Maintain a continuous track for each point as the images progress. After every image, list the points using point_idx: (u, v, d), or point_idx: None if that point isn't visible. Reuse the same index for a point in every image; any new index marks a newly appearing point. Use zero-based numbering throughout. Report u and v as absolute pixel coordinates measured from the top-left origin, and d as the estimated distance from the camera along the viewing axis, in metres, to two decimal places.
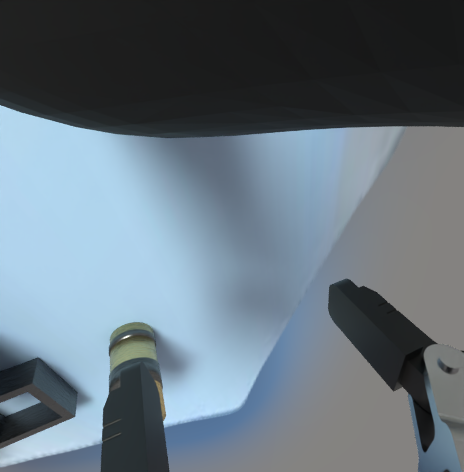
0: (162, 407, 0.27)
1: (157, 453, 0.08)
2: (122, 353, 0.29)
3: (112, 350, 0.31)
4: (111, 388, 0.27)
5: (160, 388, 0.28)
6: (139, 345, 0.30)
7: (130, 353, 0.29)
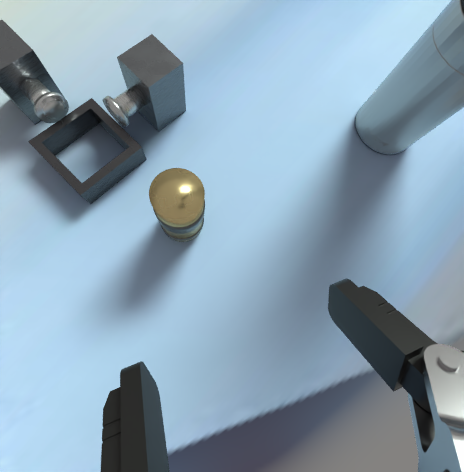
0: (199, 208, 0.26)
1: (157, 453, 0.08)
2: None
3: None
4: None
5: (197, 217, 0.27)
6: None
7: None
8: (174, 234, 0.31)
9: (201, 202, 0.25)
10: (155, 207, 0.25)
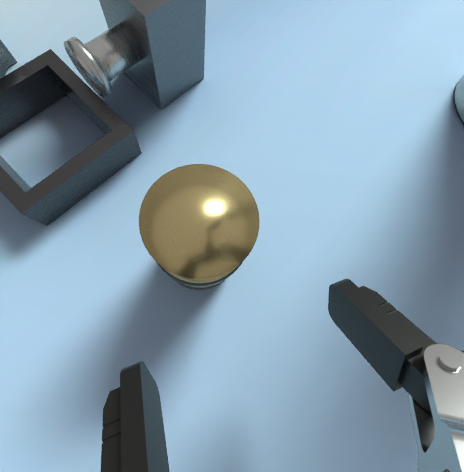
0: None
1: (157, 453, 0.08)
2: None
3: None
4: None
5: None
6: None
7: None
8: None
9: (253, 238, 0.12)
10: (153, 252, 0.11)
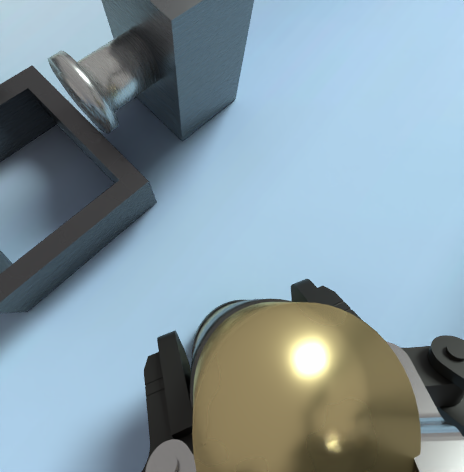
0: None
1: None
2: None
3: None
4: None
5: None
6: None
7: None
8: None
9: None
10: None
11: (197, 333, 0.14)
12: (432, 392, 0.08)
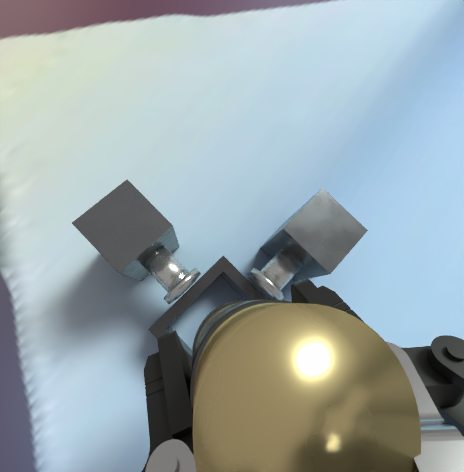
0: None
1: None
2: None
3: None
4: None
5: None
6: None
7: None
8: None
9: None
10: None
11: (197, 334, 0.14)
12: (432, 392, 0.08)
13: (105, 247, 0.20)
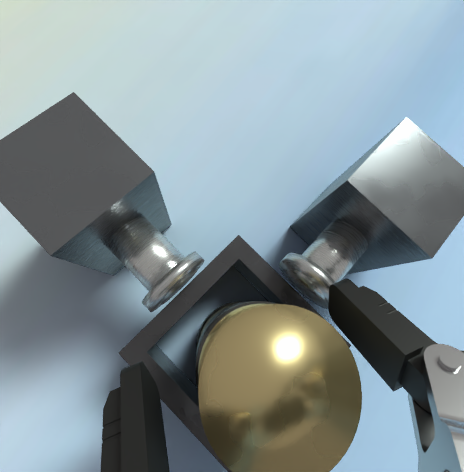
0: None
1: (157, 453, 0.08)
2: None
3: None
4: (255, 301, 0.12)
5: None
6: None
7: None
8: None
9: (356, 415, 0.08)
10: (221, 452, 0.08)
11: (200, 330, 0.16)
12: None
13: (27, 208, 0.10)
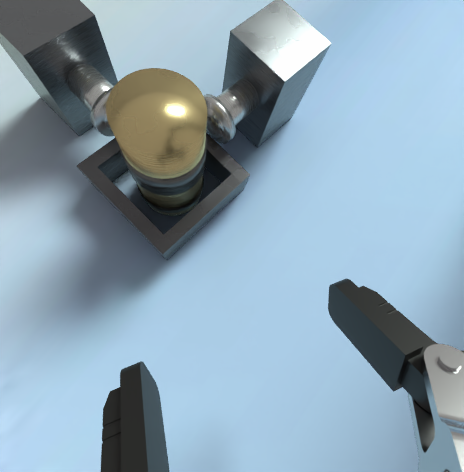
0: (199, 138, 0.14)
1: (157, 453, 0.08)
2: None
3: None
4: None
5: (195, 160, 0.16)
6: None
7: None
8: (158, 199, 0.20)
9: (202, 126, 0.14)
10: (117, 132, 0.13)
11: None
12: None
13: (8, 28, 0.16)
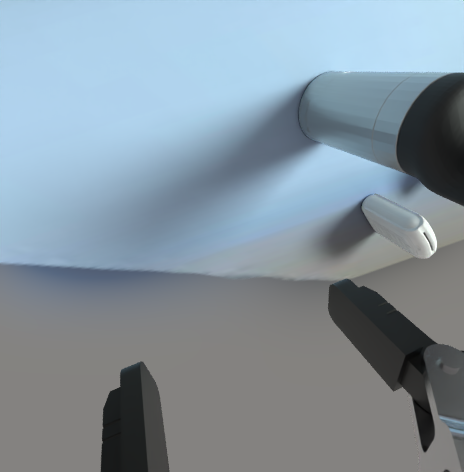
0: None
1: (157, 453, 0.08)
2: None
3: None
4: None
5: None
6: None
7: None
8: None
9: None
10: None
11: None
12: None
13: None
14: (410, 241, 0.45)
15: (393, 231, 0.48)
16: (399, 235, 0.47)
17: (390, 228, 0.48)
